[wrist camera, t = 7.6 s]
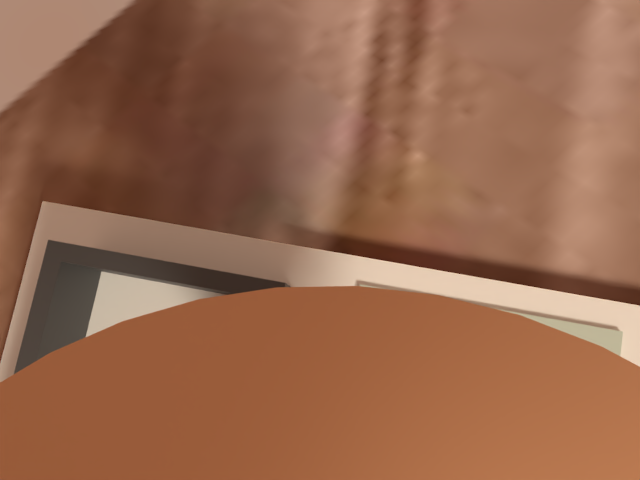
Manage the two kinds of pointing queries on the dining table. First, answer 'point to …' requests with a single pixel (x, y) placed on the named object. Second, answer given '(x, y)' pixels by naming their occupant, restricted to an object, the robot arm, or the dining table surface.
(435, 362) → the tall peach cylinder
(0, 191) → the dining table surface
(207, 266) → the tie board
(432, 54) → the dining table surface
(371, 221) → the dining table surface
